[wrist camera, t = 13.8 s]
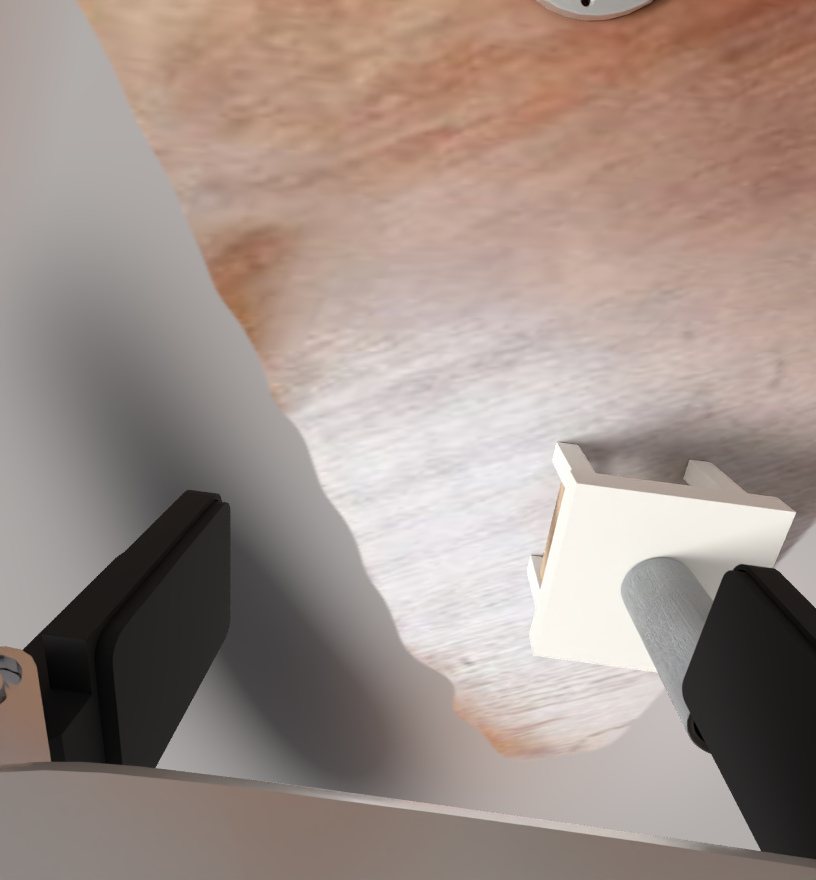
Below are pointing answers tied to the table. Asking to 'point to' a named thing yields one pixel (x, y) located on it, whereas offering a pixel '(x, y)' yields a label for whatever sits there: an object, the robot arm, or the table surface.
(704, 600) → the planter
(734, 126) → the table surface
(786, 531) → the stool
